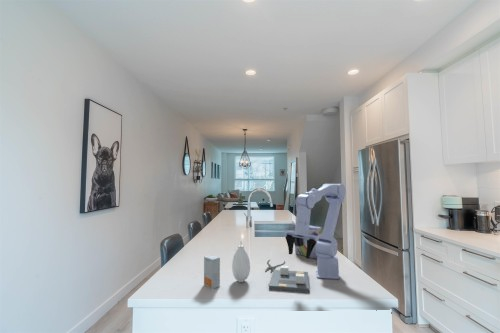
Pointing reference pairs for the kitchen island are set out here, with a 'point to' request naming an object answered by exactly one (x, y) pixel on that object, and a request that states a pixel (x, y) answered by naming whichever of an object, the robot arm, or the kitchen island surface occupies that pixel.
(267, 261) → the pliers
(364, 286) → the kitchen island surface
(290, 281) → the panel
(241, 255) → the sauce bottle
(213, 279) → the skincare box
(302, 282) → the white rectangular block
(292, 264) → the kitchen island surface
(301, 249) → the cake pan box
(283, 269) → the far tab
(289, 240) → the robot arm
